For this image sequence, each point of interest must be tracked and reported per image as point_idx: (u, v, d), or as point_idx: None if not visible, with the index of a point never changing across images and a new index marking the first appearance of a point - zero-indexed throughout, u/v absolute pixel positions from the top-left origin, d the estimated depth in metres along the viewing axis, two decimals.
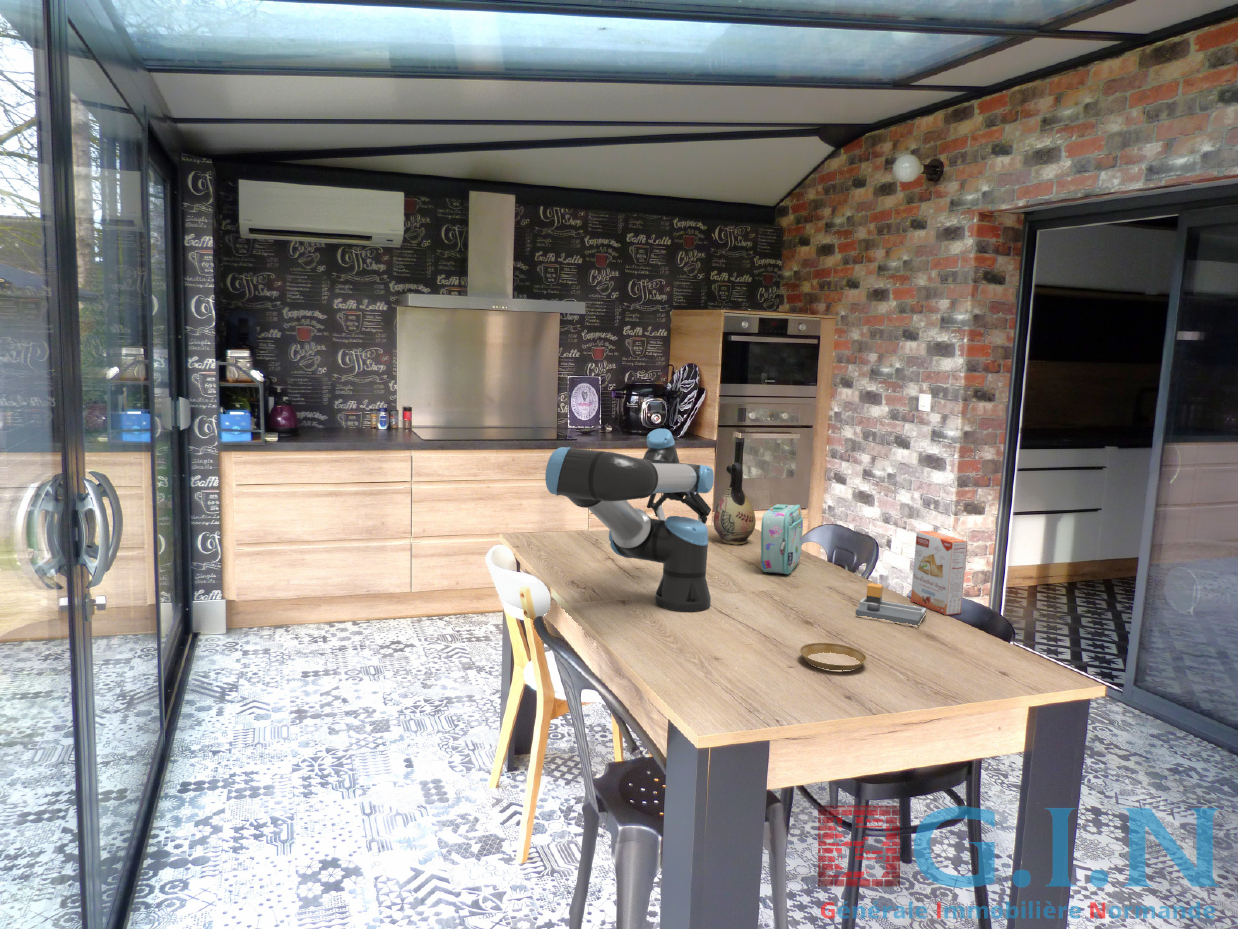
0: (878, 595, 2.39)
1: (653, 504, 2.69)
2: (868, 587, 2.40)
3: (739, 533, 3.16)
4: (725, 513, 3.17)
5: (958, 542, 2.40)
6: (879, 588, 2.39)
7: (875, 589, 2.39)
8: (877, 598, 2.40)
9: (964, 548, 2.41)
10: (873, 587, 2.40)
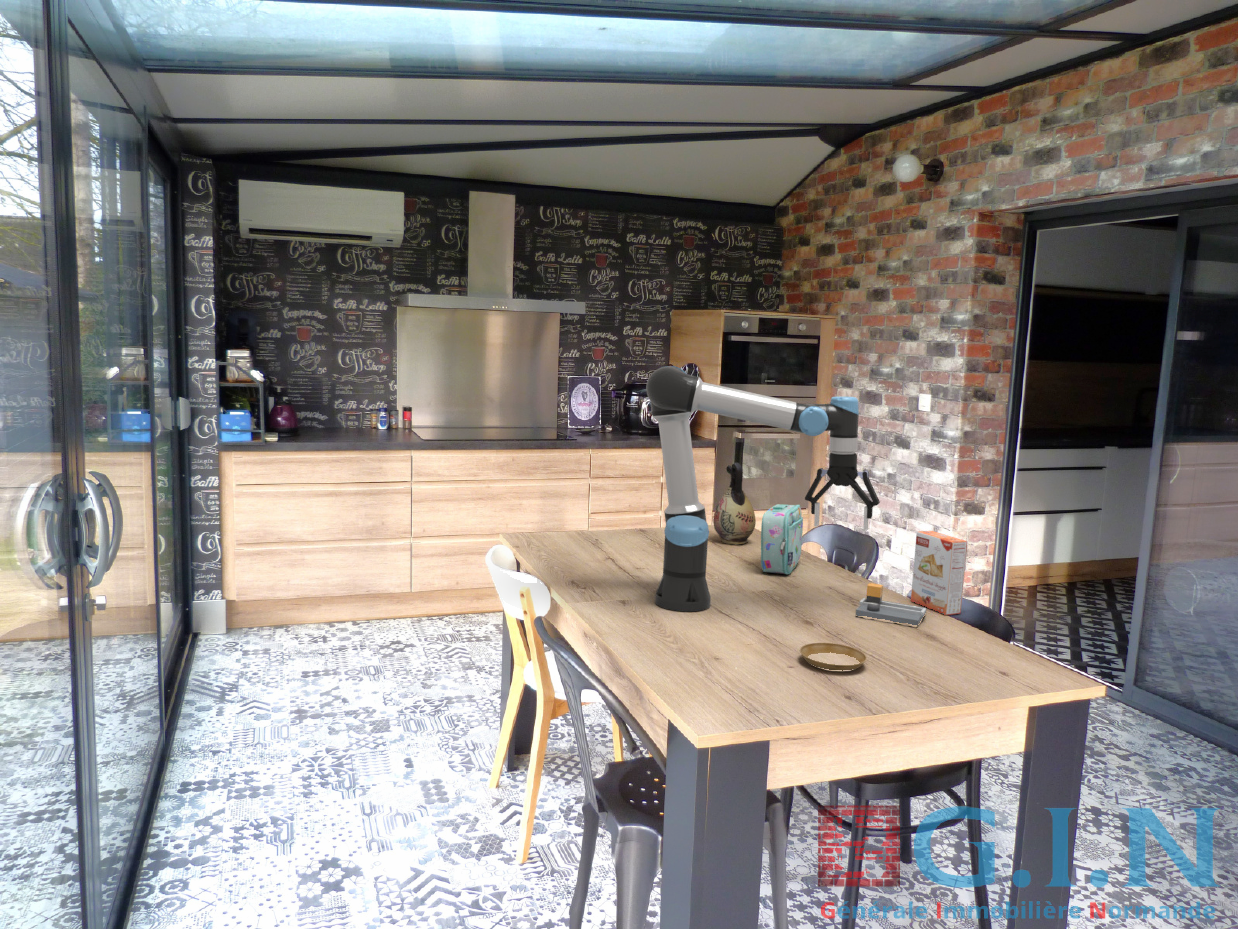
0: (878, 595, 2.39)
1: (812, 497, 2.49)
2: (868, 587, 2.40)
3: (739, 533, 3.16)
4: (725, 513, 3.17)
5: (958, 542, 2.40)
6: (879, 588, 2.39)
7: (875, 589, 2.39)
8: (877, 598, 2.40)
9: (964, 548, 2.41)
10: (873, 587, 2.40)
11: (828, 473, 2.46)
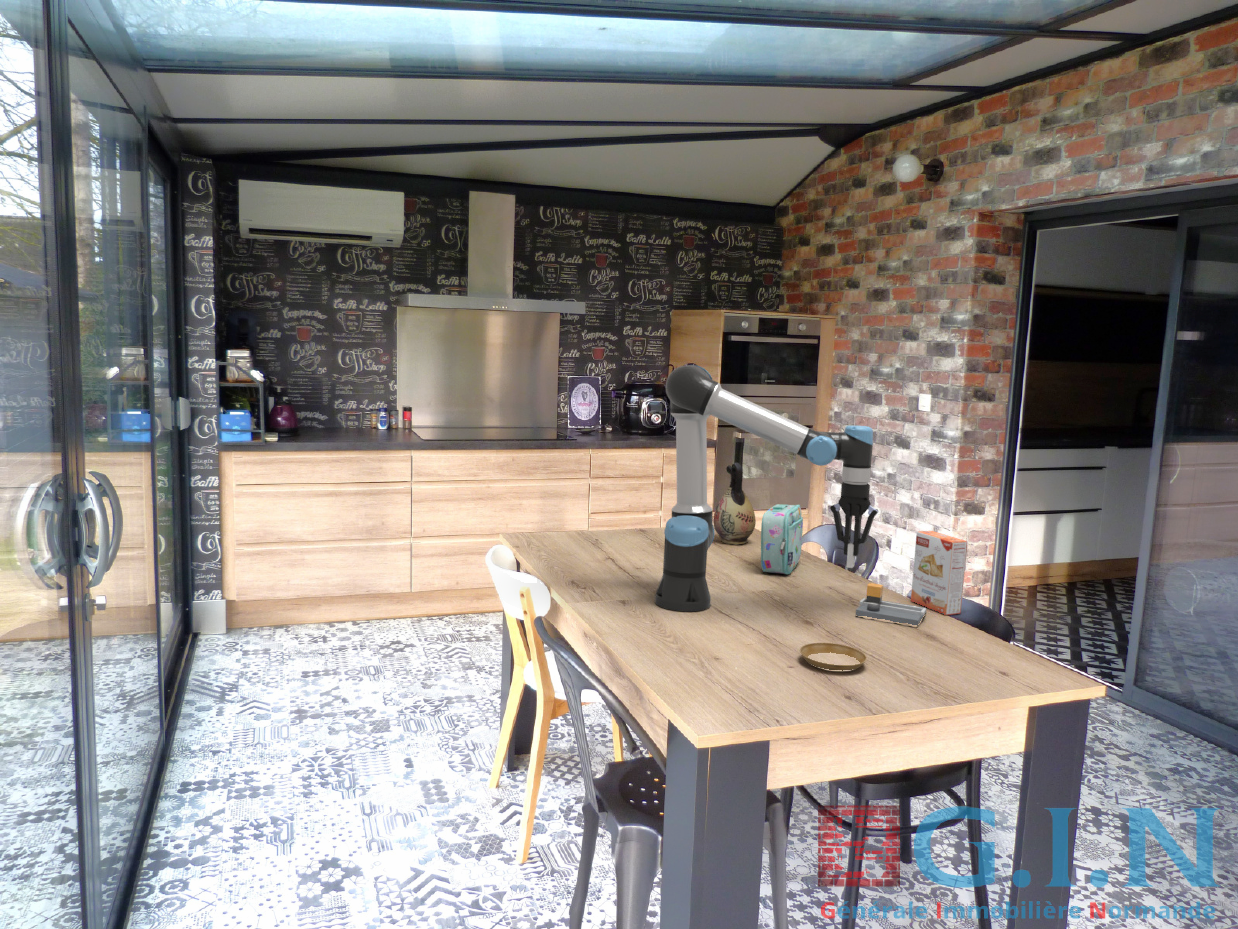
0: (878, 595, 2.39)
1: None
2: (868, 587, 2.40)
3: (739, 533, 3.16)
4: (725, 513, 3.17)
5: (958, 542, 2.40)
6: (879, 588, 2.39)
7: (875, 589, 2.39)
8: (877, 598, 2.40)
9: (964, 548, 2.41)
10: (873, 587, 2.40)
11: (840, 503, 2.42)
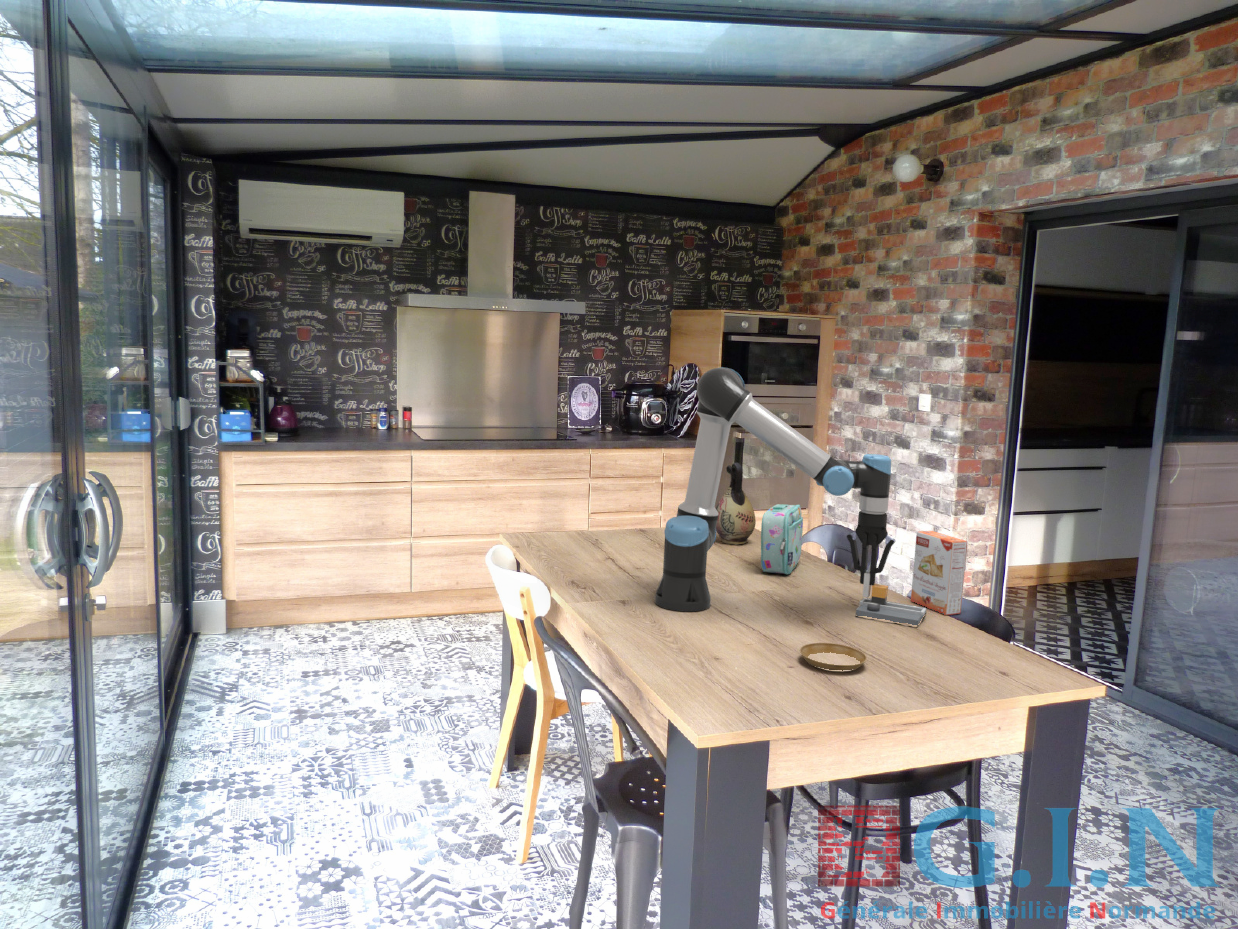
0: (883, 596, 2.38)
1: None
2: (873, 588, 2.40)
3: (739, 533, 3.16)
4: (725, 513, 3.17)
5: (958, 542, 2.40)
6: (884, 589, 2.38)
7: (880, 590, 2.39)
8: (882, 599, 2.39)
9: (964, 548, 2.41)
10: (878, 588, 2.39)
11: (856, 532, 2.41)
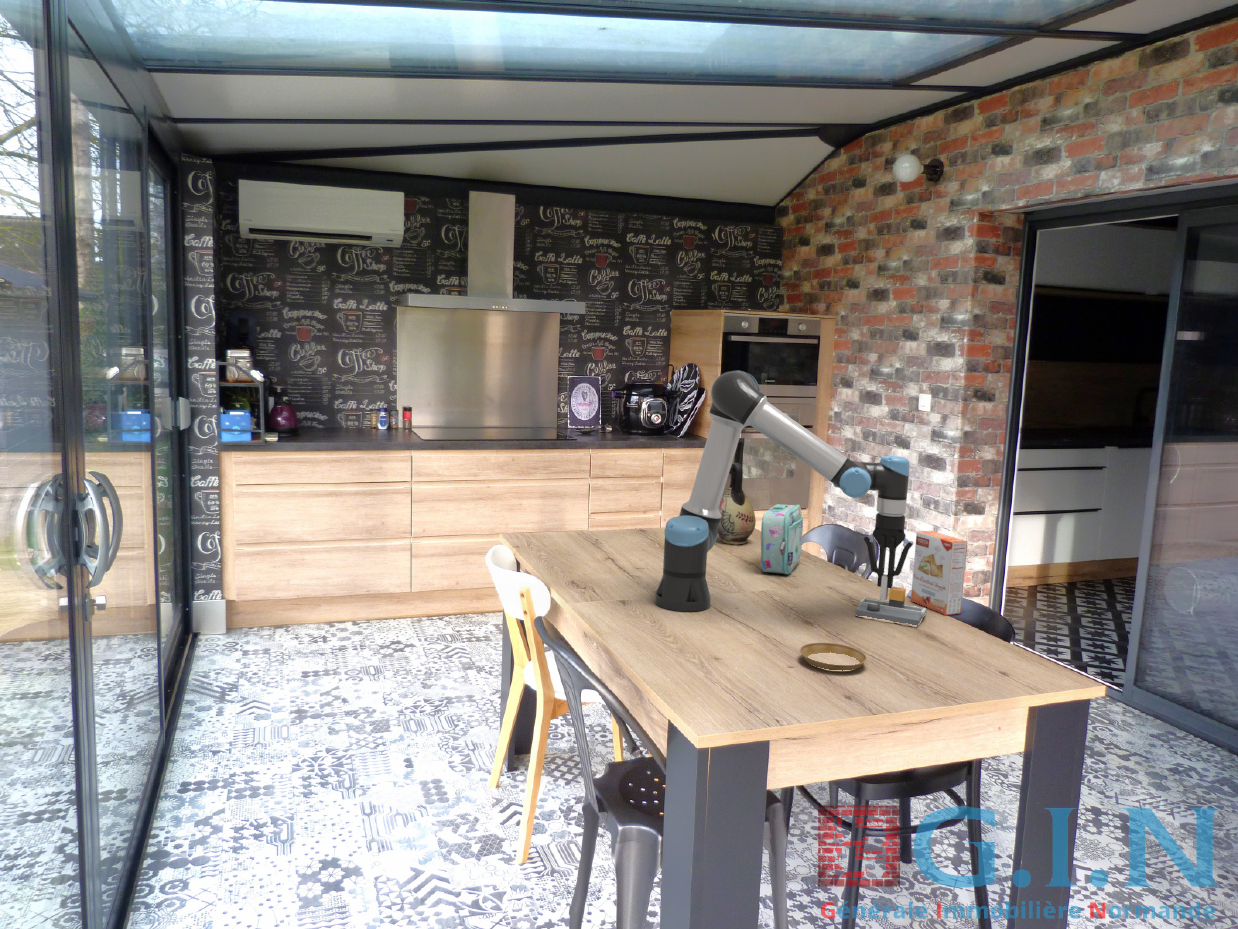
0: (901, 599, 2.36)
1: None
2: (891, 591, 2.37)
3: (739, 533, 3.16)
4: (725, 513, 3.17)
5: (958, 542, 2.40)
6: (902, 592, 2.36)
7: (898, 593, 2.37)
8: (900, 602, 2.37)
9: (964, 548, 2.41)
10: (896, 591, 2.37)
11: (874, 534, 2.39)
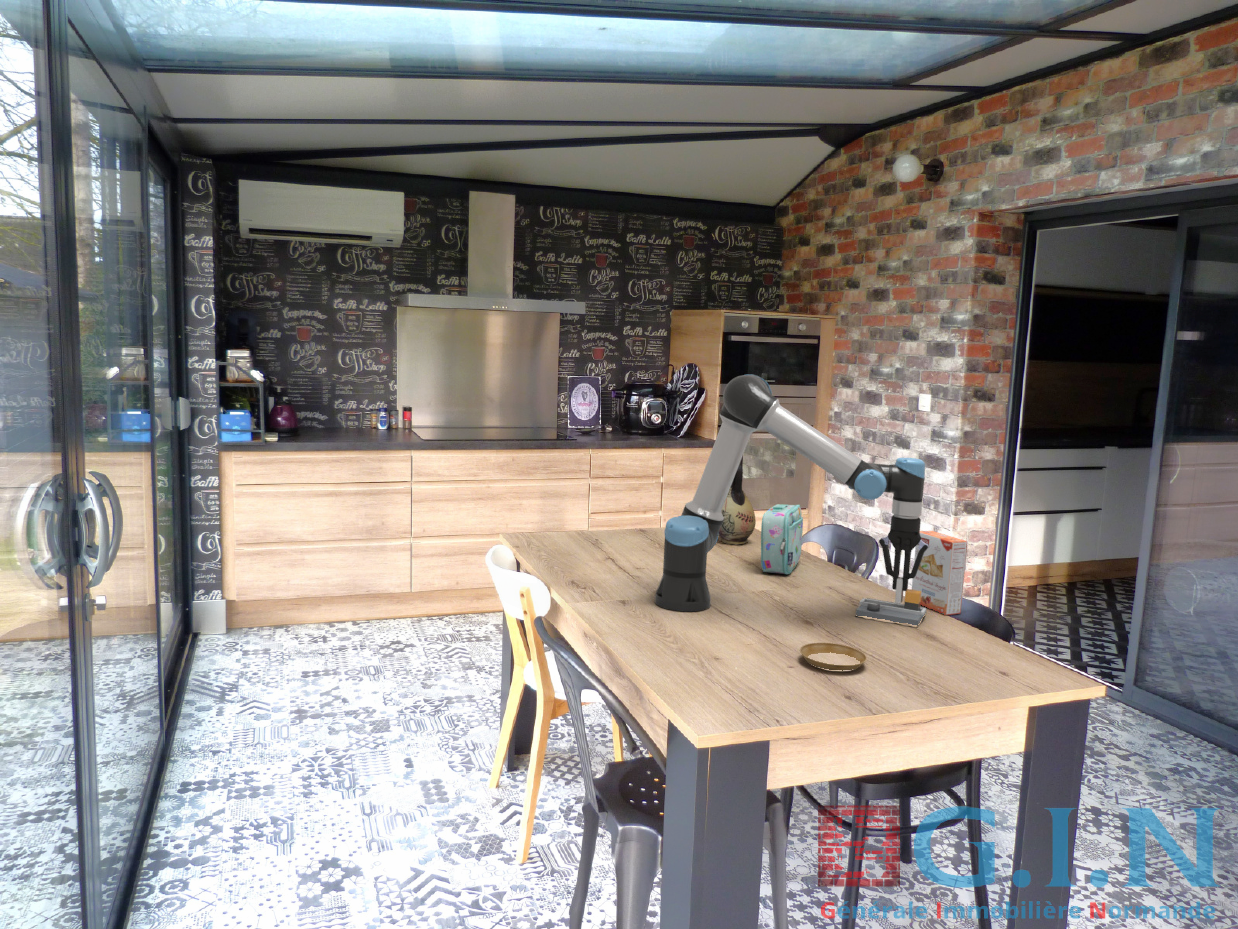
0: (917, 601, 2.34)
1: None
2: (906, 593, 2.35)
3: (739, 533, 3.16)
4: (725, 513, 3.17)
5: (958, 542, 2.40)
6: (918, 594, 2.34)
7: (913, 595, 2.35)
8: (915, 604, 2.35)
9: (964, 548, 2.41)
10: (911, 593, 2.35)
11: (889, 536, 2.37)
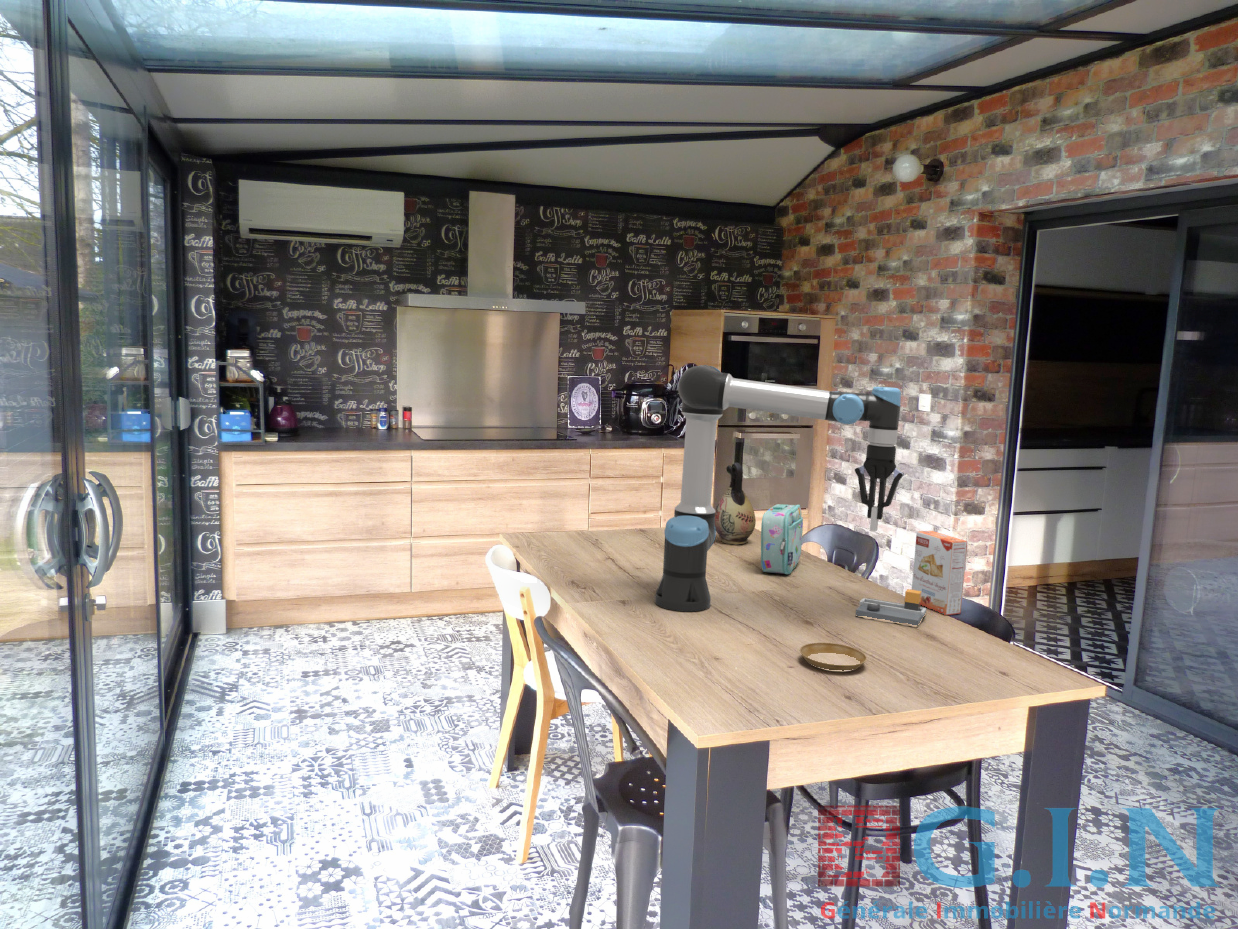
0: (917, 601, 2.34)
1: None
2: (906, 593, 2.35)
3: (739, 533, 3.16)
4: (725, 513, 3.17)
5: (958, 542, 2.40)
6: (918, 594, 2.34)
7: (914, 595, 2.35)
8: (915, 604, 2.35)
9: (964, 548, 2.41)
10: (911, 593, 2.35)
11: (865, 465, 2.39)
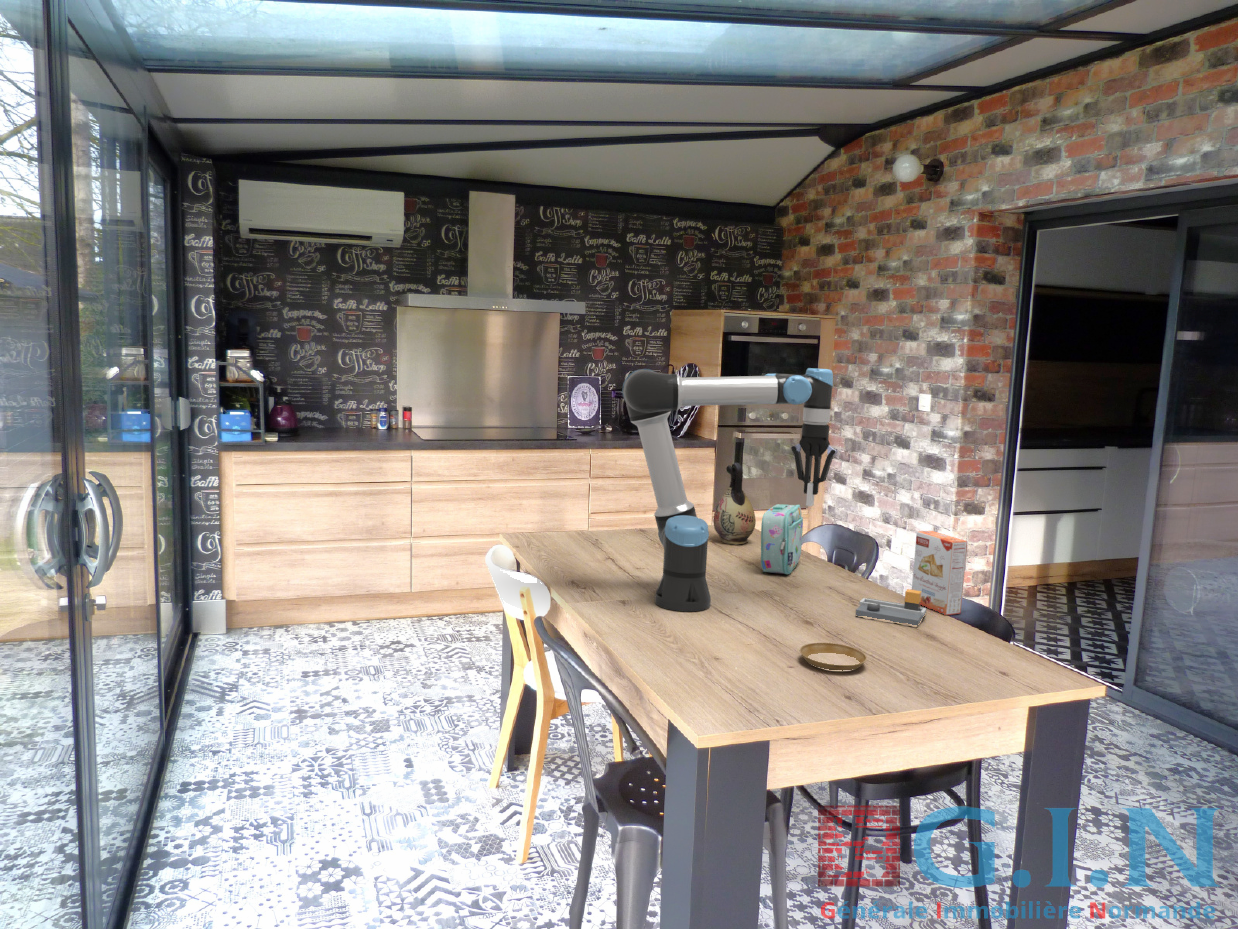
0: (917, 601, 2.34)
1: None
2: (906, 593, 2.35)
3: (739, 533, 3.16)
4: (725, 513, 3.17)
5: (958, 542, 2.40)
6: (918, 594, 2.34)
7: (914, 595, 2.35)
8: (915, 604, 2.35)
9: (964, 548, 2.41)
10: (911, 593, 2.35)
11: (800, 443, 2.51)
